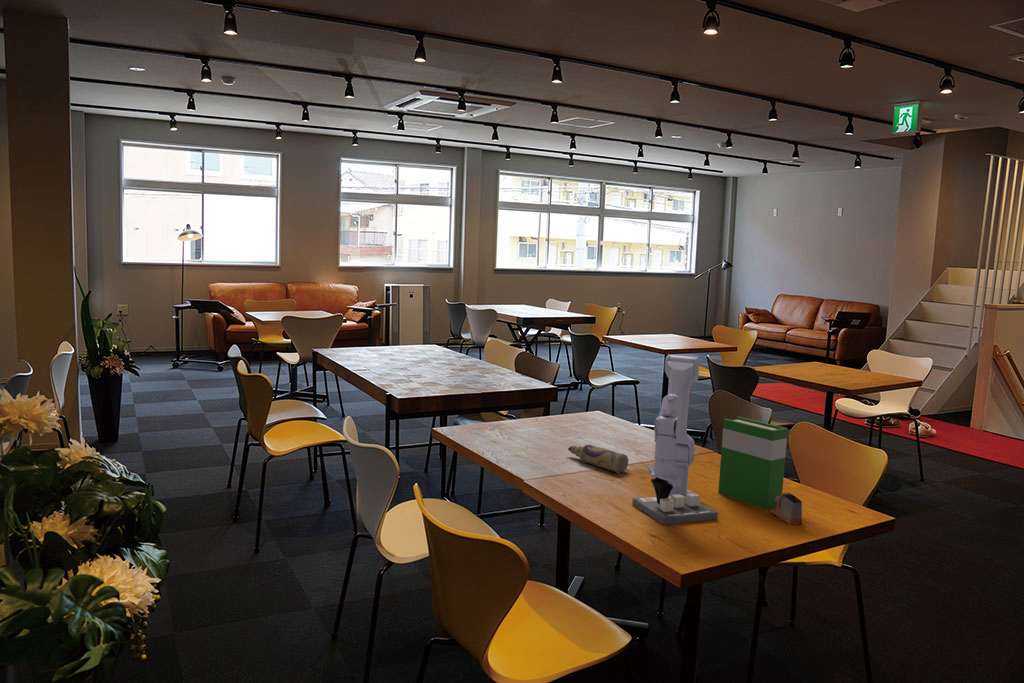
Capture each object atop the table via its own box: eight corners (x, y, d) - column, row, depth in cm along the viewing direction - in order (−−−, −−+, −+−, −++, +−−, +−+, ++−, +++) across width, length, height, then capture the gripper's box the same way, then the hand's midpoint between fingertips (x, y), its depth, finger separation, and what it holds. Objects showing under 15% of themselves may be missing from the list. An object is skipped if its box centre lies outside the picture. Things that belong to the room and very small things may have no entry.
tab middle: (670, 505, 211) (671, 494, 210) (679, 504, 212) (680, 494, 211) (675, 507, 208) (675, 497, 208) (684, 507, 209) (684, 496, 209)
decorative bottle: (629, 472, 251) (630, 453, 250) (614, 475, 246) (615, 456, 245) (576, 454, 270) (577, 436, 269) (562, 457, 265) (562, 439, 265)
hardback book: (718, 492, 231) (723, 418, 228) (732, 489, 235) (738, 416, 233) (766, 509, 217) (773, 431, 214) (781, 505, 221) (787, 428, 219)
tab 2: (685, 503, 212) (685, 493, 212) (693, 502, 213) (694, 493, 213) (690, 506, 210) (690, 496, 210) (698, 505, 211) (699, 495, 211)
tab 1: (659, 508, 207) (660, 498, 207) (668, 508, 208) (669, 497, 208) (664, 511, 205) (664, 501, 204) (673, 511, 206) (674, 500, 205)
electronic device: (781, 512, 215) (783, 488, 214) (802, 524, 206) (805, 499, 205) (768, 513, 214) (770, 488, 213) (789, 525, 204) (792, 500, 203)
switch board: (632, 504, 216) (632, 497, 216) (684, 499, 223) (684, 493, 222) (662, 524, 201) (663, 517, 200) (717, 519, 207) (718, 511, 207)
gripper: (639, 452, 212) (636, 497, 214) (666, 466, 199) (663, 513, 200) (660, 450, 215) (657, 495, 216) (688, 464, 201) (685, 511, 203)
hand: (661, 504), depth 208 cm, fingers closed
